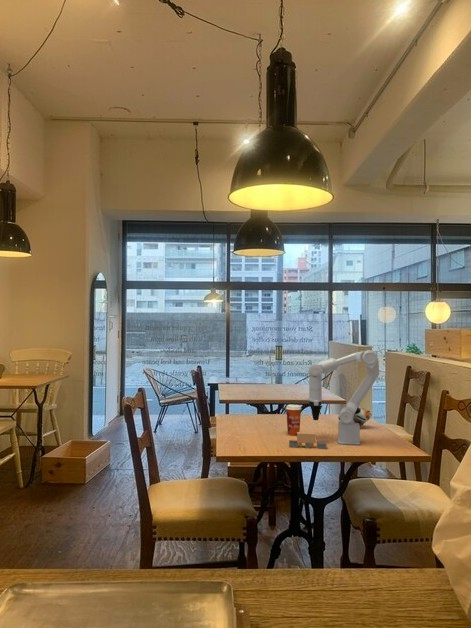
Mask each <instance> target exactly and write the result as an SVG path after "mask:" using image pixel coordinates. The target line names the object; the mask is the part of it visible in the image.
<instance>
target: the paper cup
mask: <svg viewBox="0 0 471 628" xmlns="http://www.w3.org/2000/svg"><path fill="white" fill-rule="evenodd" d="M285 409H286V421H287V422H286V424H287V429H286V430H287V435H288V436H291V437H292V436H293V437H297V432H301V431H300V430H301V429H300V428H301V415H302V414H301V413H302V406H301V405H299V404H287V405H286V407H285Z"/></svg>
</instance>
